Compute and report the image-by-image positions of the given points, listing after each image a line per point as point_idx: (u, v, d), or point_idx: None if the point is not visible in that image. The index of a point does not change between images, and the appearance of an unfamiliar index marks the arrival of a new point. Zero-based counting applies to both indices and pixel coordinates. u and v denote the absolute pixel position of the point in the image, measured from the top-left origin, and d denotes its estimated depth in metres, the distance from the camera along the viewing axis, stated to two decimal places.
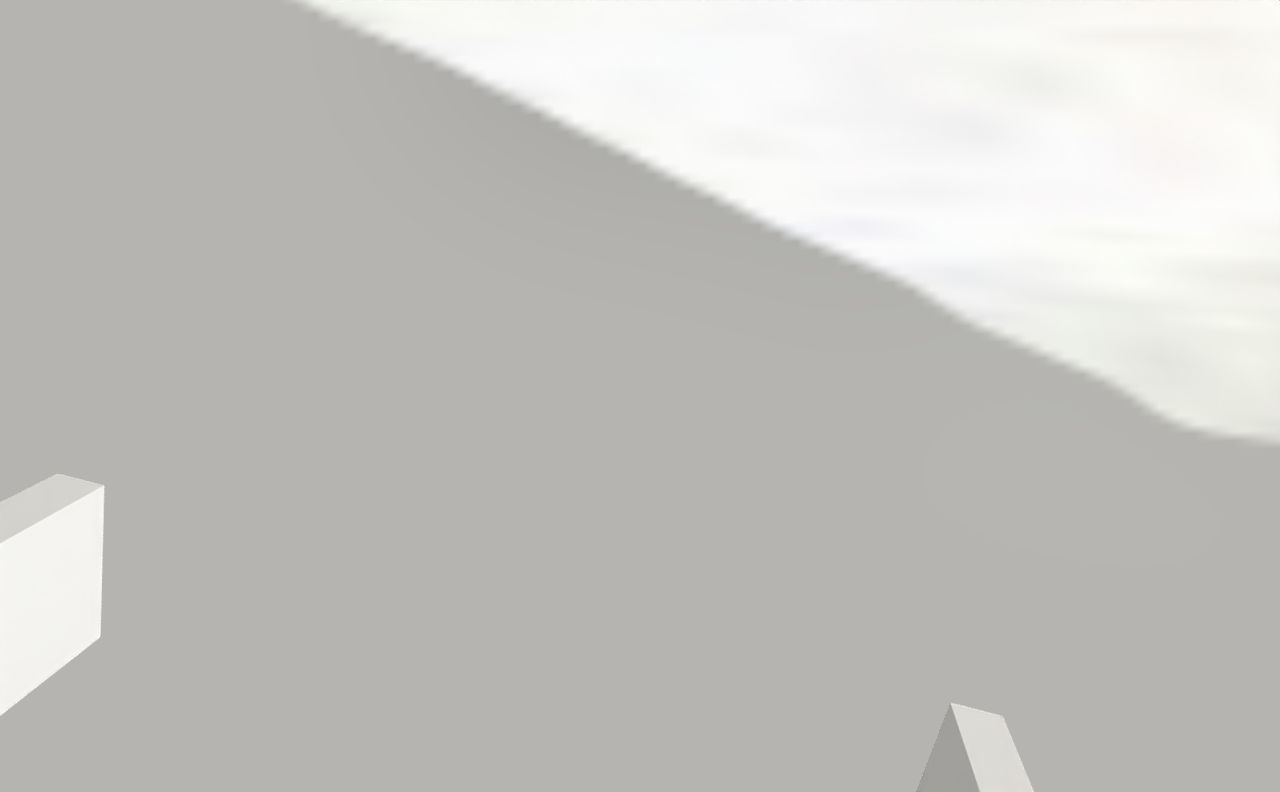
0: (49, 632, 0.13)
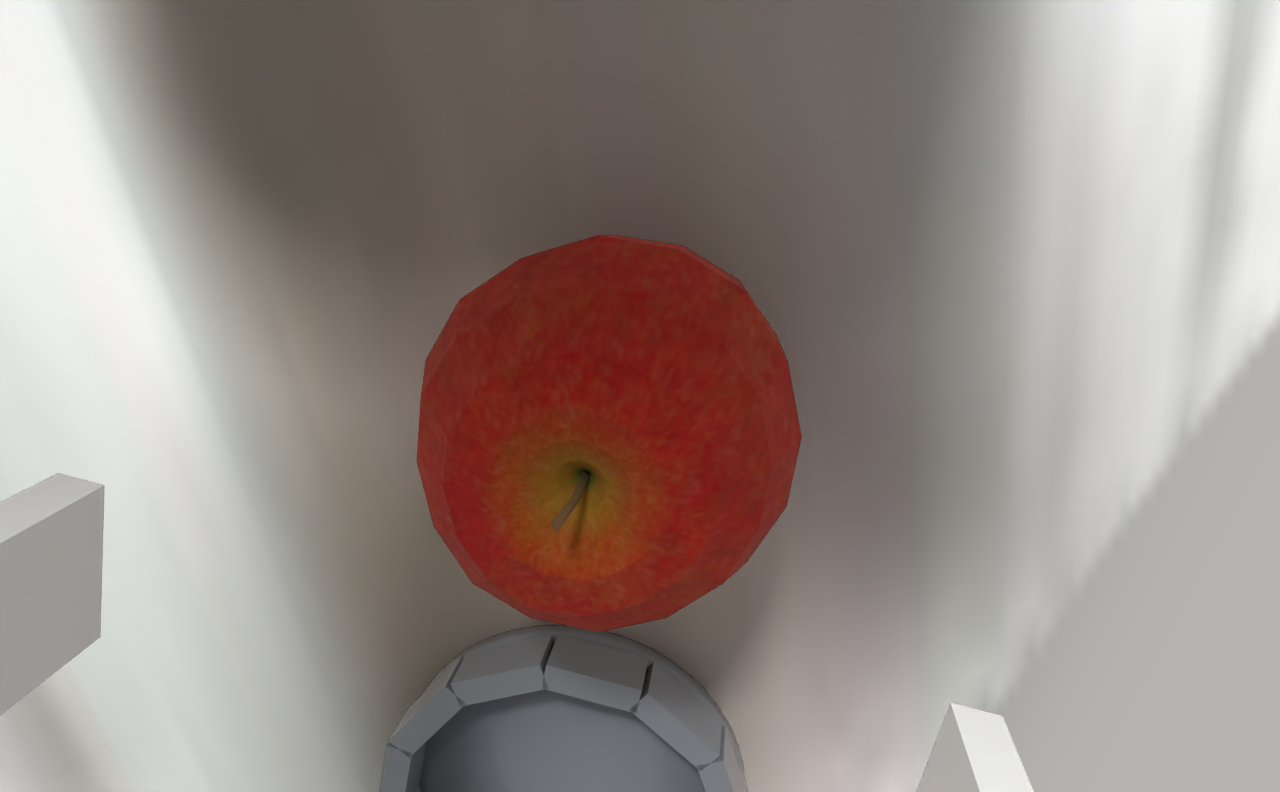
0: (49, 632, 0.13)
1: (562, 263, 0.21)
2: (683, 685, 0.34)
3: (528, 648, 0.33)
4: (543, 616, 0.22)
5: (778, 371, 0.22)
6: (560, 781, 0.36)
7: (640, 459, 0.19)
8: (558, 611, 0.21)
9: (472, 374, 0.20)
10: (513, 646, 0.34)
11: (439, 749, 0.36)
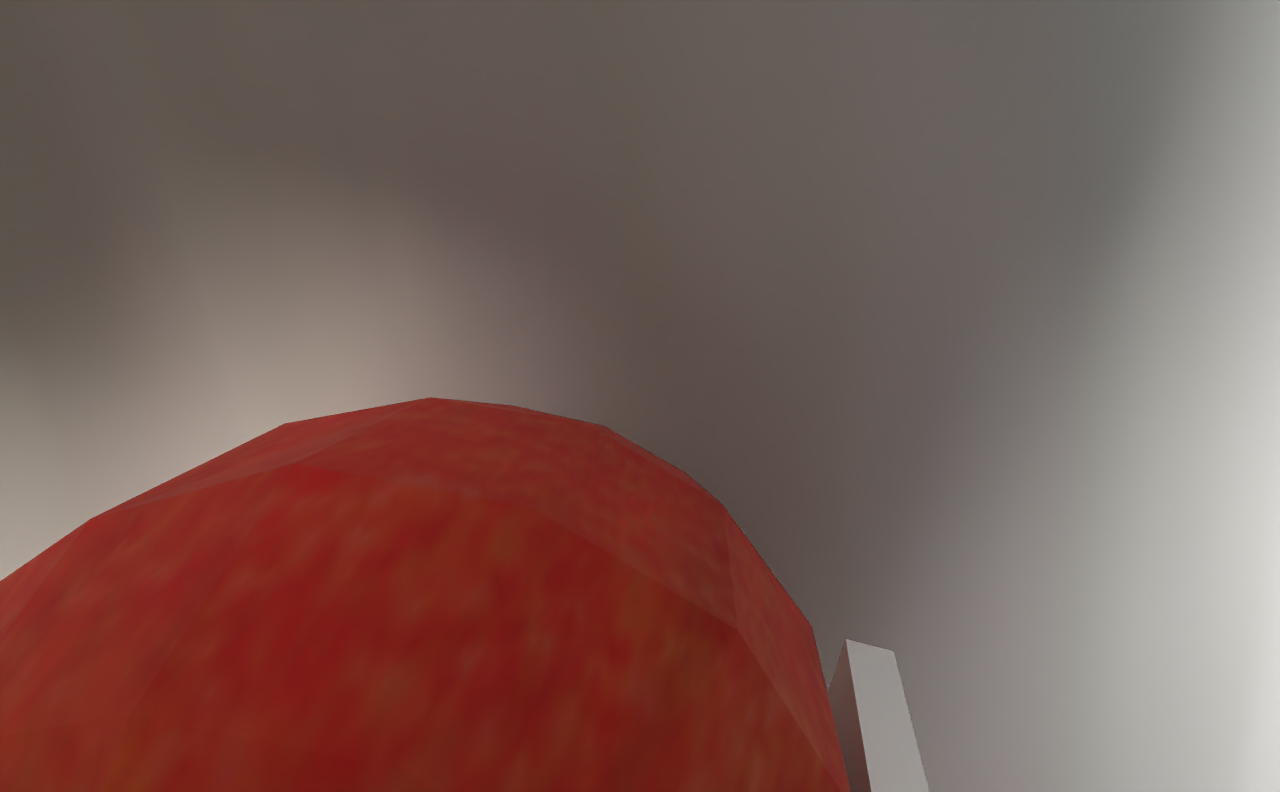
0: None
1: (153, 574, 0.07)
2: None
3: None
4: None
5: None
6: None
7: None
8: None
9: None
10: None
11: None
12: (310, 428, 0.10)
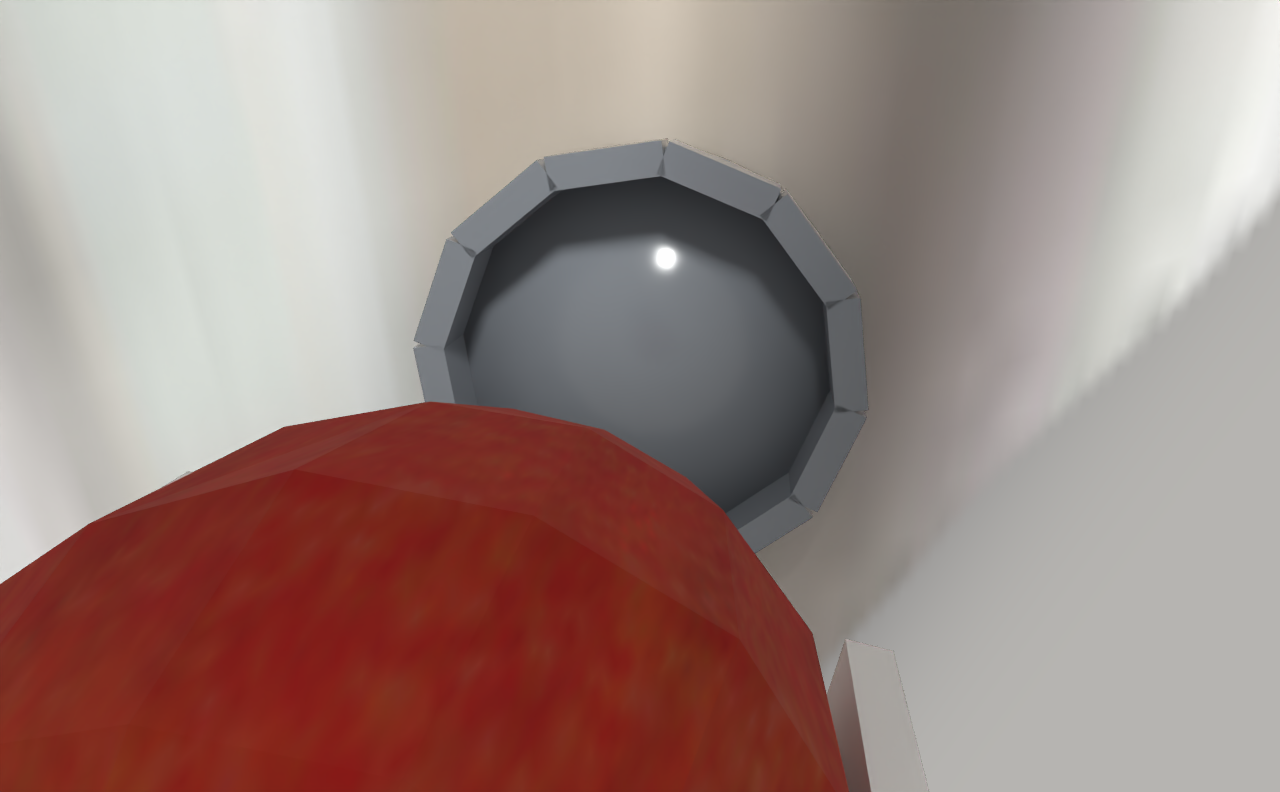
0: None
1: (153, 581, 0.07)
2: (813, 227, 0.28)
3: (640, 142, 0.27)
4: None
5: None
6: (638, 343, 0.30)
7: None
8: None
9: None
10: (619, 145, 0.28)
11: (498, 286, 0.30)
12: (310, 432, 0.10)
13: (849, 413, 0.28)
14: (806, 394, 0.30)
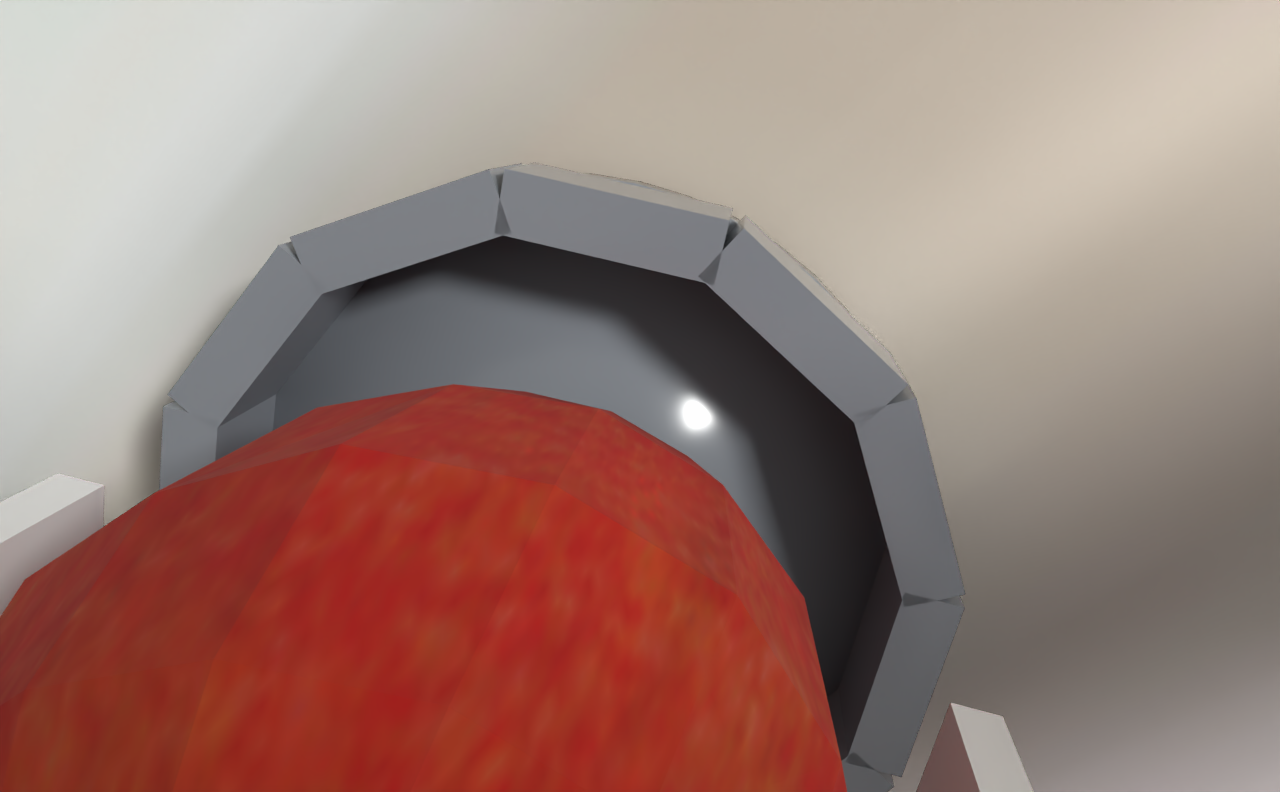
0: None
1: (218, 541, 0.08)
2: None
3: (864, 332, 0.15)
4: None
5: None
6: None
7: None
8: None
9: None
10: (830, 298, 0.15)
11: (484, 272, 0.16)
12: (343, 412, 0.11)
13: None
14: None
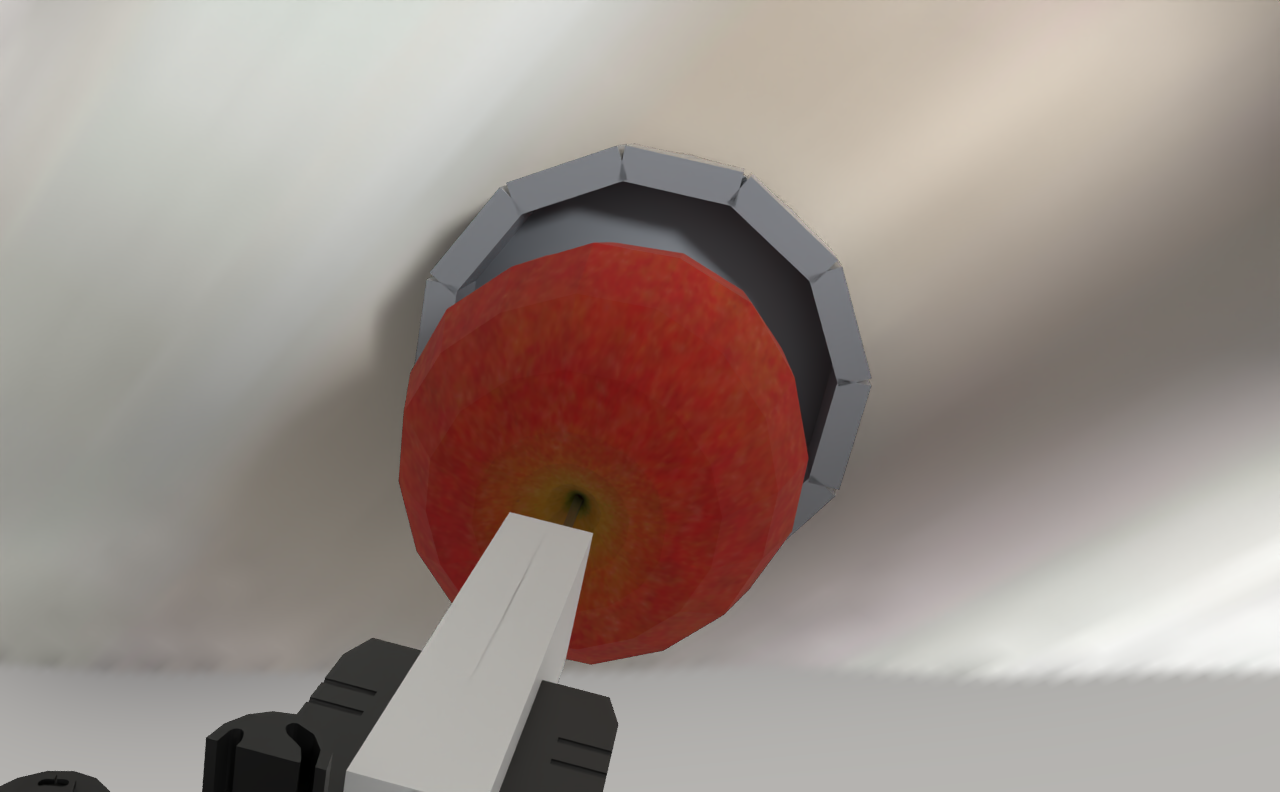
0: None
1: (555, 272, 0.20)
2: None
3: (816, 236, 0.27)
4: None
5: (785, 388, 0.20)
6: None
7: (637, 484, 0.18)
8: None
9: (457, 390, 0.19)
10: (798, 218, 0.28)
11: (602, 206, 0.29)
12: None
13: None
14: None
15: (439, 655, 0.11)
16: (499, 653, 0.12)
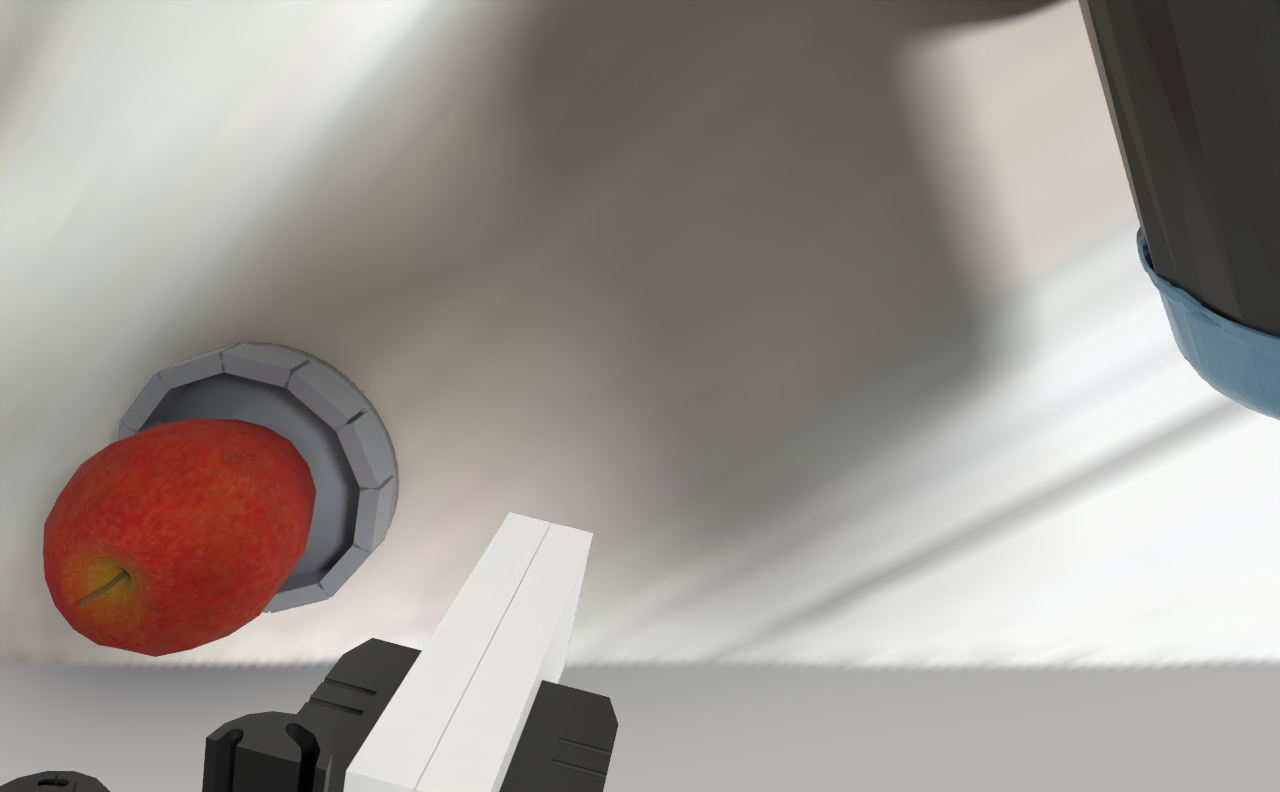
0: None
1: (123, 451, 0.38)
2: (391, 500, 0.48)
3: (349, 400, 0.46)
4: None
5: (248, 511, 0.39)
6: None
7: (138, 567, 0.36)
8: (112, 646, 0.38)
9: (58, 517, 0.37)
10: (341, 389, 0.46)
11: (230, 378, 0.47)
12: (163, 425, 0.42)
13: (322, 590, 0.48)
14: (323, 557, 0.49)
15: (439, 655, 0.11)
16: (499, 653, 0.12)
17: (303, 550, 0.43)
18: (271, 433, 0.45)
